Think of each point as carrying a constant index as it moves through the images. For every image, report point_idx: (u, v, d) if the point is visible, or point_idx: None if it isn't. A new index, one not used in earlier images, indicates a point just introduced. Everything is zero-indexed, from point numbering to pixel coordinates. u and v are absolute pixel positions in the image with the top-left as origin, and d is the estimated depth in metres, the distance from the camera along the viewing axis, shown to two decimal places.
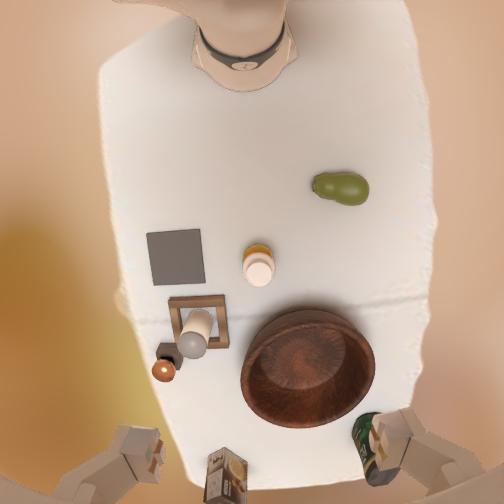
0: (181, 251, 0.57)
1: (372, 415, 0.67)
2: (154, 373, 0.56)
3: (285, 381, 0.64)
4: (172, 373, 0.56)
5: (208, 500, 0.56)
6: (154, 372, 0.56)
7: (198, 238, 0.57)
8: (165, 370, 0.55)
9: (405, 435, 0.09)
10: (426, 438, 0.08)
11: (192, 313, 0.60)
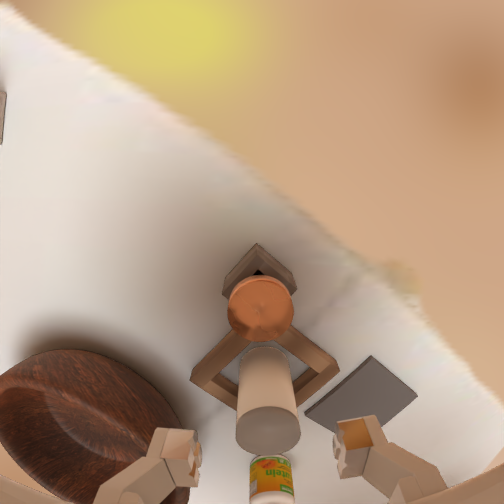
0: None
1: None
2: (277, 294, 0.21)
3: None
4: (241, 331, 0.22)
5: None
6: (279, 296, 0.21)
7: None
8: (261, 325, 0.21)
9: (365, 444, 0.09)
10: (387, 449, 0.08)
11: None
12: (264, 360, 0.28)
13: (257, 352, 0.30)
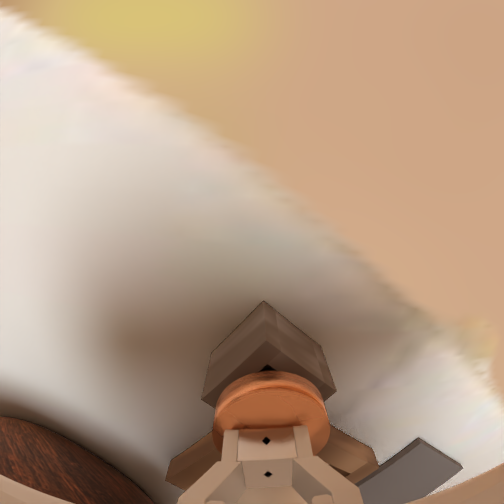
0: (394, 499, 0.20)
1: None
2: (304, 412, 0.10)
3: None
4: None
5: None
6: (306, 415, 0.10)
7: None
8: None
9: (288, 455, 0.09)
10: (309, 463, 0.08)
11: None
12: None
13: None
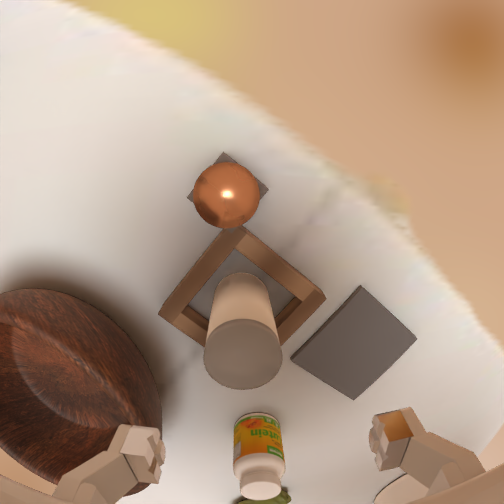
0: (357, 364, 0.31)
1: None
2: (242, 174, 0.21)
3: None
4: (207, 217, 0.21)
5: None
6: (243, 176, 0.21)
7: (347, 393, 0.32)
8: (227, 209, 0.21)
9: (405, 435, 0.09)
10: (426, 438, 0.08)
11: None
12: (238, 282, 0.26)
13: (231, 278, 0.28)
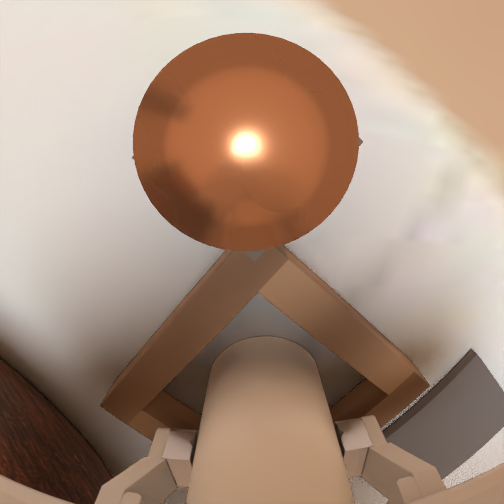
0: (436, 460, 0.15)
1: None
2: (302, 71, 0.05)
3: None
4: (178, 210, 0.06)
5: None
6: (306, 78, 0.05)
7: None
8: (247, 183, 0.06)
9: (364, 444, 0.09)
10: (385, 449, 0.08)
11: None
12: (263, 370, 0.11)
13: (246, 351, 0.12)
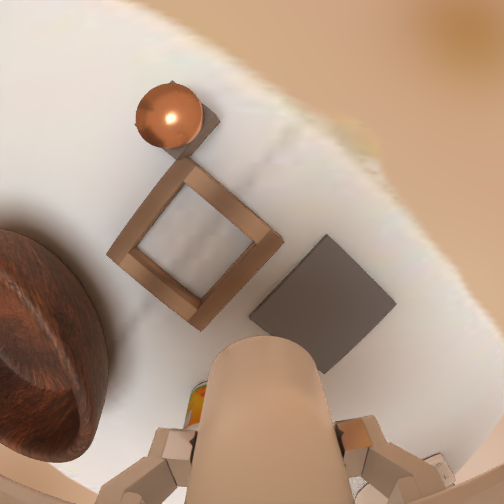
0: (326, 329, 0.29)
1: None
2: (184, 94, 0.19)
3: None
4: (148, 136, 0.19)
5: None
6: (185, 96, 0.19)
7: None
8: (167, 128, 0.19)
9: (364, 444, 0.09)
10: (386, 449, 0.08)
11: None
12: (262, 370, 0.11)
13: (245, 350, 0.12)
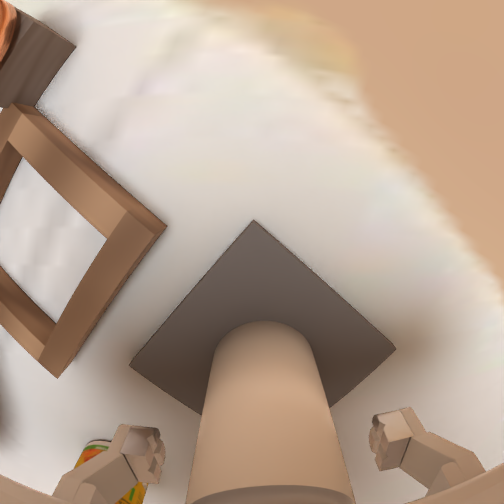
0: None
1: None
2: None
3: None
4: None
5: None
6: None
7: None
8: None
9: (405, 435, 0.09)
10: (426, 439, 0.08)
11: None
12: (262, 348, 0.12)
13: (246, 333, 0.14)
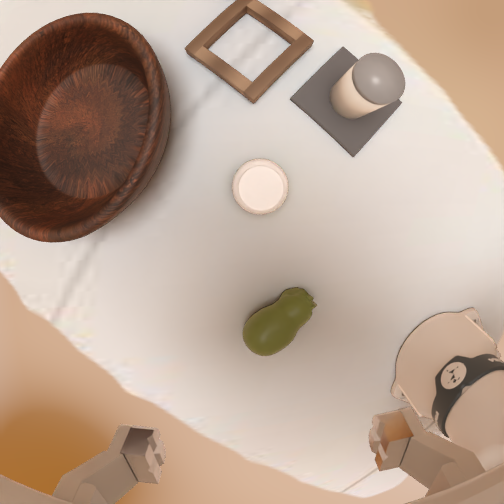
0: None
1: None
2: None
3: (77, 81, 0.32)
4: None
5: None
6: None
7: (346, 145, 0.35)
8: None
9: (405, 435, 0.09)
10: (426, 438, 0.08)
11: None
12: None
13: None
